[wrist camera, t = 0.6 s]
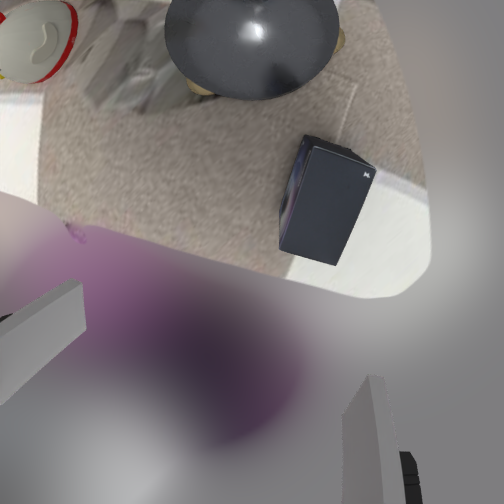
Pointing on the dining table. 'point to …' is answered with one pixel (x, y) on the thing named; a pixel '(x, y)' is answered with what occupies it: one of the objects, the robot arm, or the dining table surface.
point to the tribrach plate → (251, 44)
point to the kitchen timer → (36, 40)
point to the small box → (323, 200)
